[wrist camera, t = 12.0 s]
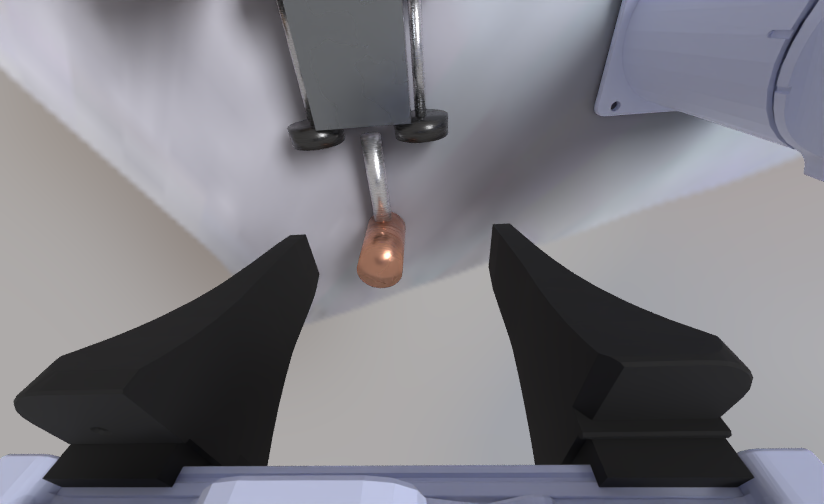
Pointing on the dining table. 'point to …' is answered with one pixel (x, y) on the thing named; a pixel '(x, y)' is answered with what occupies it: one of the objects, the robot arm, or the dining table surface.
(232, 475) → the robot arm
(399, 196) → the dining table surface
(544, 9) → the dining table surface
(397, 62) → the dolly
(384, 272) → the pin
